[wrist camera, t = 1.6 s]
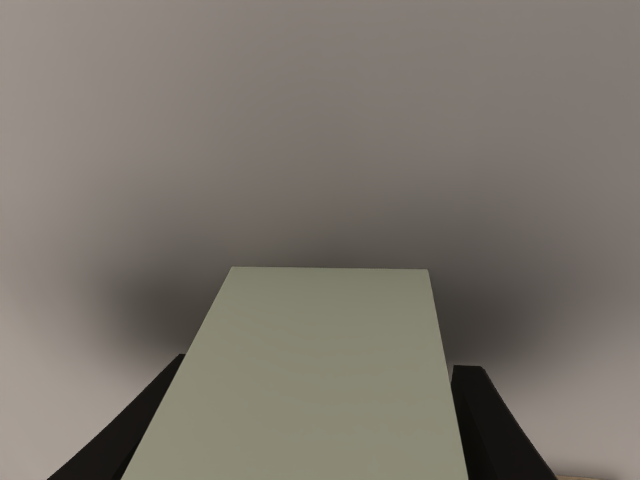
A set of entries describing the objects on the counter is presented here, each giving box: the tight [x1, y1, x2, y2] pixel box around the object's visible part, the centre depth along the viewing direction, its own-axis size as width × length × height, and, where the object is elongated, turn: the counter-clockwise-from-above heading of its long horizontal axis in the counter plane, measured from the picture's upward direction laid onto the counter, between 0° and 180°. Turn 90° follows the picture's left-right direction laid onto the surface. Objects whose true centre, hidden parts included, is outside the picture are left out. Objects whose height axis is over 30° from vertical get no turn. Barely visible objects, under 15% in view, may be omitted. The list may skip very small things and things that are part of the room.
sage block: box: [121, 267, 468, 480], centre depth 9 cm, size 5×5×6 cm
